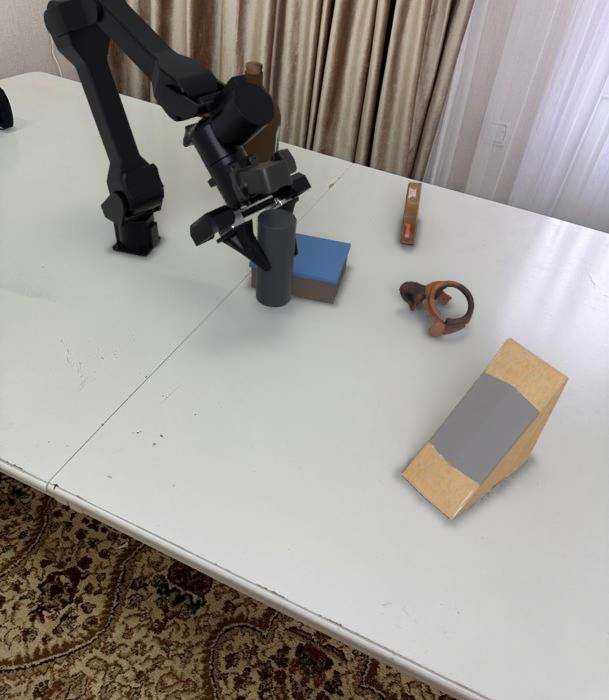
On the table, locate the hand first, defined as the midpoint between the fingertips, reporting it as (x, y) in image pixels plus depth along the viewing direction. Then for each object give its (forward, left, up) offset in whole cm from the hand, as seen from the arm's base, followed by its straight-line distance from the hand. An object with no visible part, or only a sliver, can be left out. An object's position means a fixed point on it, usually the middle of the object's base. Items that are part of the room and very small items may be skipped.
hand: (282, 263), depth 86 cm
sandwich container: (+29, -17, -13) cm, 36 cm away
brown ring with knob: (+22, +12, -13) cm, 29 cm away
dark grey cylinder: (-1, +1, -7) cm, 7 cm away
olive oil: (-18, +43, -13) cm, 48 cm away
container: (-1, +16, -13) cm, 21 cm away
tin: (+15, +38, -13) cm, 43 cm away
